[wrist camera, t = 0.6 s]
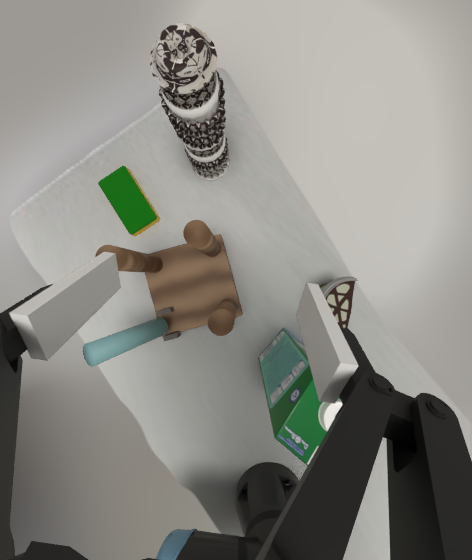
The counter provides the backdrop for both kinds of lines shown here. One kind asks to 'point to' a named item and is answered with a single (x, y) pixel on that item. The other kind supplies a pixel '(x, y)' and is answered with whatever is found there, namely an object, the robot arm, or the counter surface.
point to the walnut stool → (187, 281)
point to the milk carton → (294, 397)
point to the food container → (340, 298)
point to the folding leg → (123, 341)
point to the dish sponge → (128, 201)
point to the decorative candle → (193, 96)
